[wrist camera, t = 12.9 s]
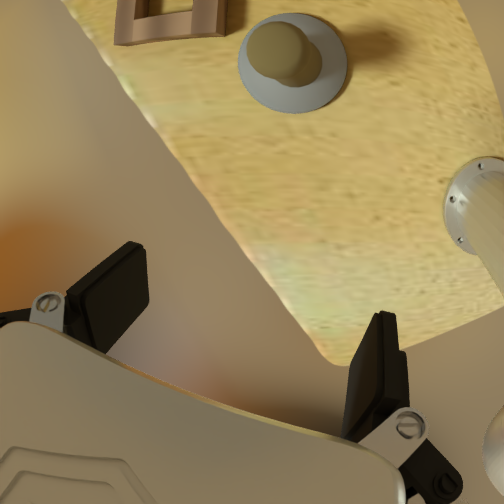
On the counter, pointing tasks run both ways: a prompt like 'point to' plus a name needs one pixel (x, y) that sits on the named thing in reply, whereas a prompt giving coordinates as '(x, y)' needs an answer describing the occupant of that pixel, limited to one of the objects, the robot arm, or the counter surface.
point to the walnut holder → (168, 22)
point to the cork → (284, 54)
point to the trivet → (305, 96)
